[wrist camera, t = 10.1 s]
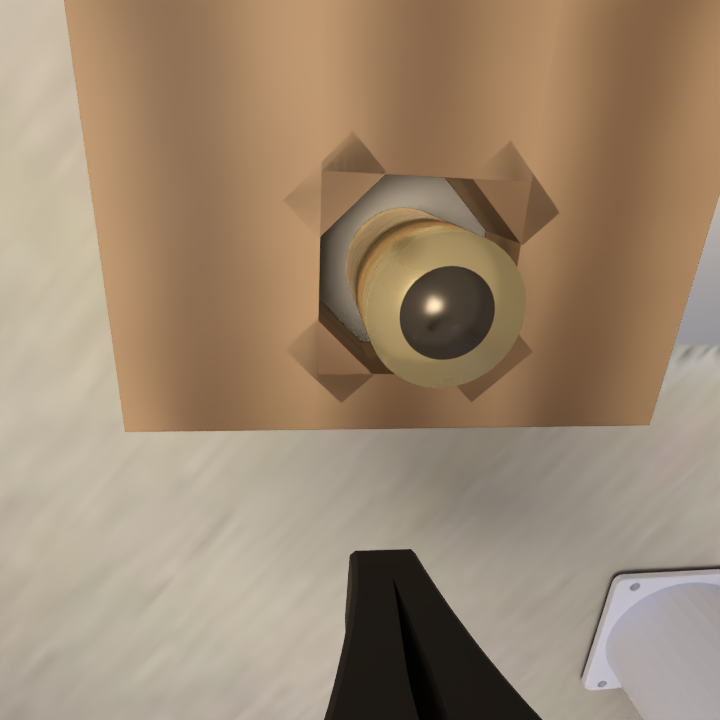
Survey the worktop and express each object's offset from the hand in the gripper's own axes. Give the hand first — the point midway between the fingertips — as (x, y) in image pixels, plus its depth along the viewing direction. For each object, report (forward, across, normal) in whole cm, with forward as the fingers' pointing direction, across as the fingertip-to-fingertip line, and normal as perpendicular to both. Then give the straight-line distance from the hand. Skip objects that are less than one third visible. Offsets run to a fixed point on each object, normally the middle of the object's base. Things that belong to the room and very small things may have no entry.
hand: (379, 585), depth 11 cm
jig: (+9, -2, -7) cm, 12 cm away
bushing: (+9, -2, -5) cm, 11 cm away
